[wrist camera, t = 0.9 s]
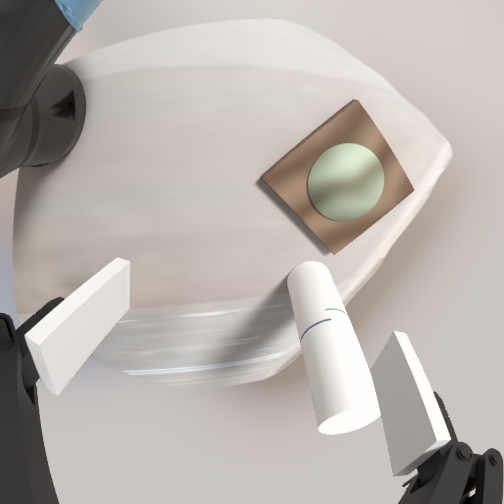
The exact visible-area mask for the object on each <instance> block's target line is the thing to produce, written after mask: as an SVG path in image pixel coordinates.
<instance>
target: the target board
mask: <svg viewBox="0 0 504 504" xmlns="http://www.w3.org/2000/svg"><path fill="white" fill-rule="evenodd" d="M262 178H263V179H264V180H265V181H266V182H267V184H268V185H269V186H270V187H271V188H272V189H273V190H274V191H275V192H276V193H277V194H278V195H279V196H280V197H281V198H282V199H283V200H284V201H285V202H286V203H287V204H288V205H289V206H290V207H291V209H292V210H293V211H294V212H295V213H296V214H297V215H298V216H299V217H300V218H301V219H302V220H303V221H304V222H305V224H306V225H307V226H308V227H309V228H310V229H311V230H312V231H313V232H314V233H315V234H316V236H317V237H318V238H319V239H320V240H321V241H322V242H323V243H324V244H325V246H326V247H327V248H328V249H329V250H330V251H331V252H332V253H333V255H335V254H336V253H338V252H339V251H340V250H342V249H343V248H344V247H345V246H347V245H348V244H349V243H351V242H352V241H353V240H354V239H356V238H357V237H358V236H359V235H361V234H362V233H363V232H364V231H366V230H367V229H368V228H369V227H371V226H372V225H373V224H374V223H376V222H377V221H378V220H379V219H381V218H382V217H383V216H384V215H386V214H387V213H388V212H389V211H390V210H392V209H393V208H394V207H395V206H396V205H398V204H399V203H400V202H401V201H402V200H404V199H405V198H406V197H407V196H408V195H410V194H411V193H412V192H413V191H414V188H413V187H412V185H411V183H410V181H409V179H408V177H407V176H406V174H405V172H404V170H403V168H402V167H401V165H400V163H399V162H398V160H397V158H396V157H395V155H394V153H393V152H392V150H391V148H390V147H389V145H388V144H387V142H386V140H385V139H384V137H383V136H382V134H381V133H380V131H379V130H378V128H377V127H376V125H375V124H374V122H373V121H372V119H371V118H370V116H369V115H368V114H367V112H366V111H365V109H364V108H363V107H362V105H361V104H360V103H359V101H358V100H352V101H351V102H349V103H348V104H347V105H345V106H344V107H343V108H342V109H340V110H339V111H338V112H337V113H335V114H334V115H333V116H332V117H330V118H329V119H328V120H327V121H325V122H324V123H323V124H322V125H320V126H319V127H318V128H317V129H316V130H314V131H313V132H312V133H311V134H310V135H308V136H307V137H306V138H305V139H304V140H302V141H301V142H300V143H299V144H298V145H296V146H295V147H294V148H293V149H292V150H290V151H289V152H288V153H287V154H286V155H285V156H283V157H282V158H281V159H280V160H279V161H278V162H276V163H275V164H274V165H273V166H272V167H271V168H269V169H268V170H267V171H266V172H265V173H264V174H263V175H262Z"/></svg>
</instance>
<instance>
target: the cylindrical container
mask: <svg viewBox="0 0 504 504" xmlns="http://www.w3.org/2000/svg"><path fill="white" fill-rule="evenodd" d="M287 286H288V290H289V294H290V299H291V303H292V307H293V312H294V316H295V321H296V325H297V330H298V334H299V339H300V343H301V348H302V352H303V357H304V361H305V366H306V371H307V376H308V380H309V386H310V390H311V395H312V400H313V405H314V410H315V415H316V419H317V425H318V430H319V431H320V432H321V433H323V434H340V433H346V432H350V431H353V430H356V429H359V428H361V427H363V426H366V425H368V424H369V423H371V422H373V421H374V420H376V419H377V418H378V417H379V416H380V415H381V413H380V409H379V405H378V400H377V396H376V392H375V388H374V385H373V381H372V377H371V374H370V371H369V368H368V366H367V363H366V360H365V358H364V355H363V352H362V350H361V347H360V345H359V342H358V340H357V337H356V335H355V332H354V329H353V327H352V325H351V322H350V320H349V317H348V315H347V312H346V310H345V307H344V305H343V303H342V300H341V298H340V296H339V293H338V291H337V289H336V286H335V284H334V282H333V279H332V277H331V275H330V273H329V270H328V269H327V267H326V266H325V265H323V264H322V263H319V262H314V261H309V262H304V263H302V264H299V265H298V266H296V267H295V268H294V269H293V270H292V271H291V272H290V273H289V275H288V278H287Z"/></svg>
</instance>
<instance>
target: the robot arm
mask: <svg viewBox="0 0 504 504" xmlns="http://www.w3.org/2000/svg"><path fill="white" fill-rule="evenodd" d="M102 1H103V0H0V178H2V177H3V176H5V175H7V174H8V173H10V172H12V171H13V170H15V169H17V168H19V167H29V166H31V167H42V166H46V165H49V164H51V163H53V162H55V161H57V160H59V159H61V158H62V157H64V156H65V155H66V154H67V153H68V152H69V151H70V150H71V149H72V148H73V146H74V145H75V143H76V142H77V140H78V138H79V136H80V134H81V131H82V128H83V125H84V120H85V114H86V100H85V94H84V90H83V87H82V84H81V82H80V80H79V78H78V77H77V76H76V74H75V73H74V72H73V71H72V70H70V69H69V68H67V67H65V66H63V65H58V64H54V63H55V61H56V60H57V58H58V57H59V55H60V54H61V53H62V51H63V50H64V49H65V47H66V46H67V44H68V43H69V42H70V41H71V39H72V38H73V37H74V35H75V34H76V33H77V32H80V31H81V30H82V25H83V24H84V23H85V21H86V20H87V19H88V18H89V16H90V15H91V14H92V13H93V11H94V10H95V9H96V8H97V7H98V6H99V4H100V3H101V2H102ZM129 308H130V261H127V260H124V259H121V258H118V257H117V258H116V259H115V260H113V261H112V262H111V263H109V264H108V265H107V266H105V267H104V268H103V269H102V270H100V271H99V272H98V273H97V274H95V275H94V276H93V277H92V278H90V279H89V280H88V281H87V282H85V283H84V284H83V285H82V286H80V287H79V288H78V289H77V290H76V291H74V292H73V293H72V294H71V295H70V296H68V297H67V298H66V299H64V298H62V297H58V298H56V299H54V300H51V301H49V302H48V303H47V304H46V305H44V306H43V307H42V309H40V310H38V311H37V312H36V314H34V315H33V316H31V317H30V318H29V319H28V320H27V321H26V322H25V323H23V324H22V325H21V326H20V327H19V328H18V329H17V330H15V327H14V324H13V320H12V319H11V318H10V316H9V315H7V314H5V313H0V504H59V502H58V498H57V495H56V492H55V488H54V485H53V482H52V478H51V474H50V470H49V466H48V461H47V457H46V452H45V447H44V442H43V436H42V429H41V423H40V415H39V407H38V396H37V387H36V382H37V380H38V379H39V378H40V380H41V382H42V384H43V387H44V388H46V389H48V390H49V391H50V392H52V393H54V394H55V395H57V396H58V395H59V394H60V393H61V391H62V390H63V389H64V387H65V386H66V385H67V384H68V382H69V381H70V380H71V378H72V377H73V376H74V375H75V373H76V372H77V371H78V370H79V368H80V367H81V366H82V365H83V363H84V362H85V361H86V359H87V358H88V357H89V356H90V355H91V353H92V352H93V351H94V350H95V348H96V347H97V346H98V345H99V344H100V342H101V341H102V340H103V339H104V338H105V336H106V335H107V334H108V333H109V332H110V330H111V329H112V328H113V327H114V326H115V324H116V323H117V322H118V321H119V320H120V319H121V317H122V316H123V315H124V314H125V313H126V312H127V310H128V309H129ZM370 373H371V377H372V381H373V385H374V388H375V392H376V396H377V400H378V405H379V409H380V413H381V417H382V422H383V426H384V430H385V435H386V440H387V445H388V450H389V455H390V461H391V466H392V472H393V476H402V475H408V474H409V473H411V472H412V471H414V470H415V469H416V468H417V470H418V474H417V475H415V476H414V477H412V478H411V479H410V480H408V481H407V482H405V483H404V484H403V485H402V486H403V487H405V486H406V485H407V484H409V483H410V485H409V486H408V488H407V490H406V491H405V493H404V495H403V496H402V498H401V500H400V501H399V503H398V504H502V498H503V459H502V456H501V454H500V452H499V451H498V450H496V449H493V448H491V449H488V450H487V451H486V452H485V453H484V454H483V455H478V454H474V453H473V451H472V450H471V448H470V447H469V446H468V445H467V444H466V443H463V442H458V440H457V437H456V434H455V432H454V429H453V426H452V423H451V421H450V418H449V417H448V414H447V411H446V410H445V406H444V404H443V401H442V399H441V398H440V397H439V396H438V394H437V393H436V392H433V391H432V389H431V386H430V384H429V382H428V380H427V377H426V375H425V373H424V370H423V368H422V366H421V364H420V362H419V360H418V358H417V355H416V353H415V351H414V349H413V347H412V345H411V343H410V341H409V339H408V337H407V335H406V333H402V332H397V331H393V333H392V335H391V336H390V339H389V340H388V342H387V343H386V345H385V347H384V348H383V350H382V352H381V353H380V355H379V356H378V358H377V359H376V361H375V363H374V364H373V366H372V368H371V369H370ZM475 488H476V491H475V494H474V495H472V496H471V497H470V496H469V494H470V492H471V491H472V490H474V489H475Z"/></svg>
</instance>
